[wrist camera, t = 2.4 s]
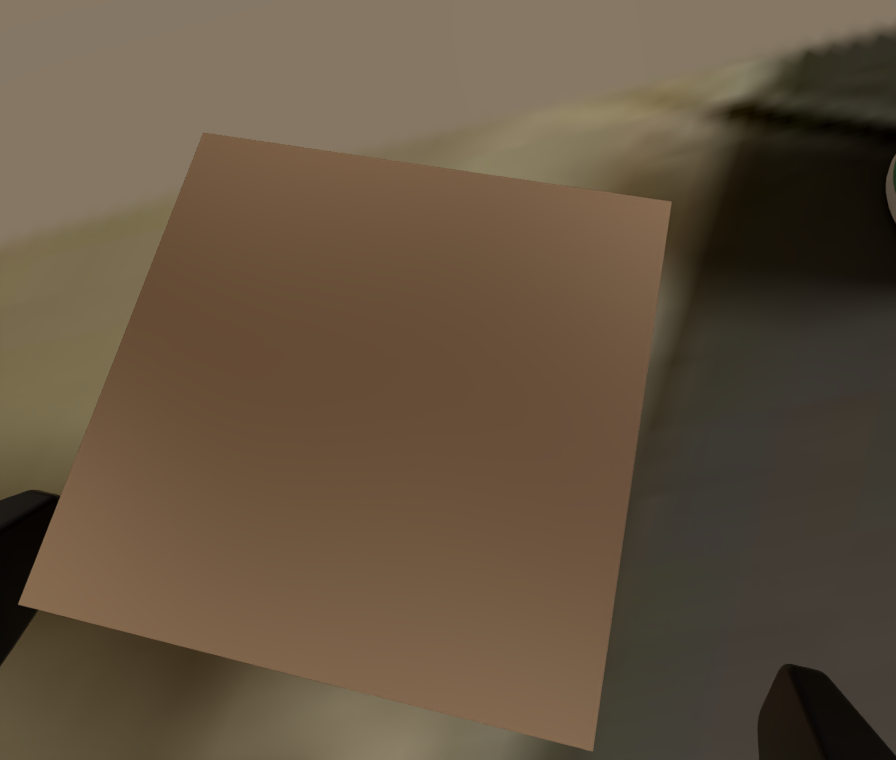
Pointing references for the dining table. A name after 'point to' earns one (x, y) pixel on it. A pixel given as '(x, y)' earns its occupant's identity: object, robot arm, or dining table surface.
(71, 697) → the dining table surface
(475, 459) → the walnut peg
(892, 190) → the supplement bottle
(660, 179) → the dining table surface
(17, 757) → the dining table surface
